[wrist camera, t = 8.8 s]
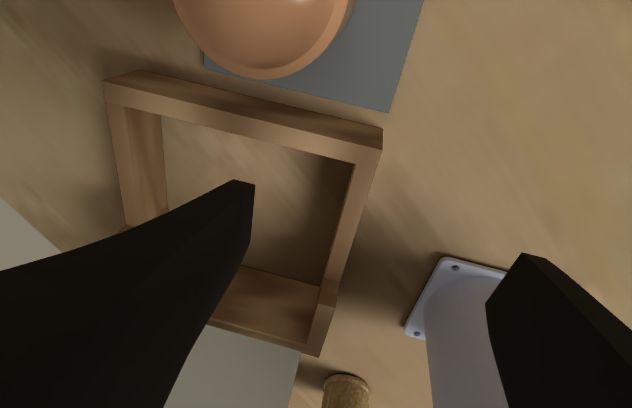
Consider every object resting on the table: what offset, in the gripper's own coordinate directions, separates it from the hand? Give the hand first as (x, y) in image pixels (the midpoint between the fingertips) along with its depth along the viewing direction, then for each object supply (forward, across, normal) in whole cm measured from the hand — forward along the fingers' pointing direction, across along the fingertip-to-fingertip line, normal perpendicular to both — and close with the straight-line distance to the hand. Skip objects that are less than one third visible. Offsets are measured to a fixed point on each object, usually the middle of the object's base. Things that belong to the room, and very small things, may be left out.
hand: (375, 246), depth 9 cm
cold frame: (+10, +7, +7) cm, 14 cm away
